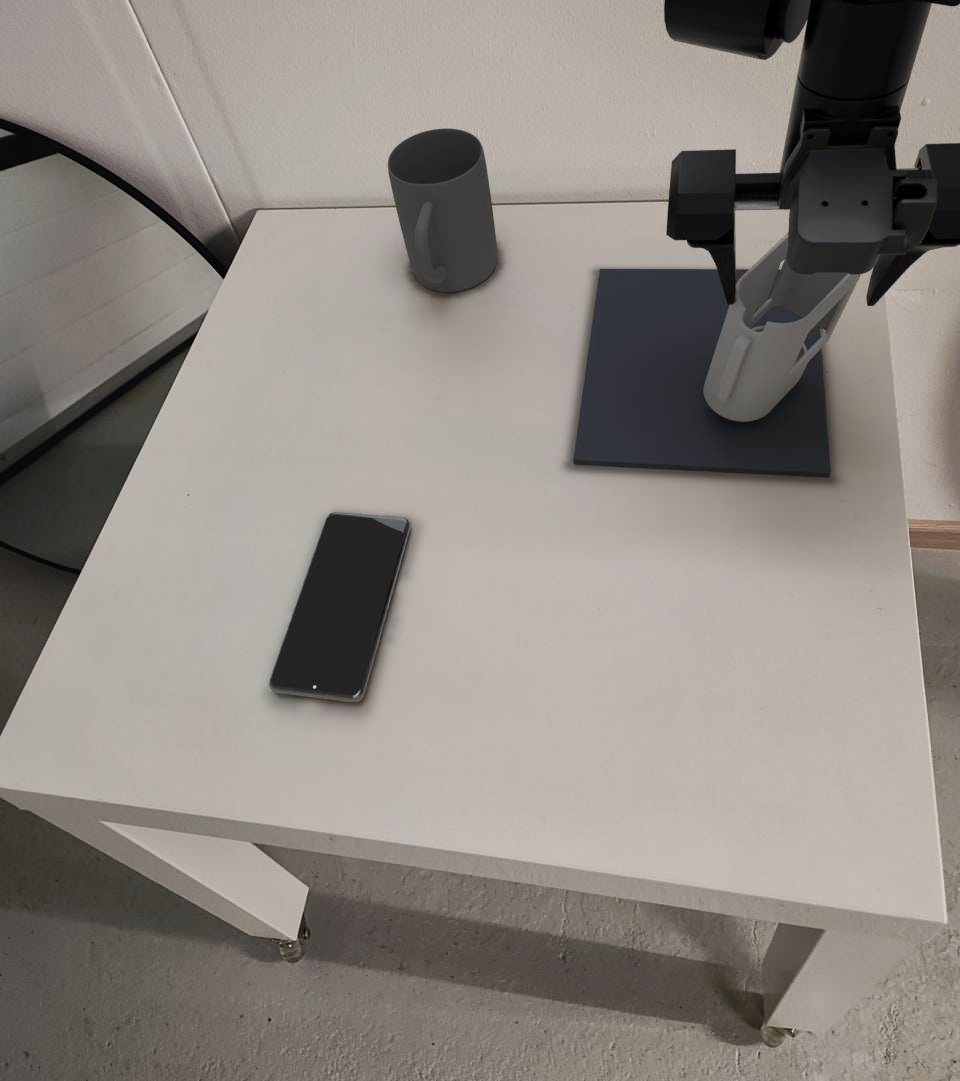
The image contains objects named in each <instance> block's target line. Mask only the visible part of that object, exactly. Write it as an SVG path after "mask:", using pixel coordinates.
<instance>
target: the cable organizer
mask: <svg viewBox="0 0 960 1081" xmlns="http://www.w3.org/2000/svg"><path fill="white" fill-rule="evenodd" d="M787 250H788V232H787V233H786V234H785V235H784V236H783V237H782V238H780V240H779V241H777V242H776V243H775V244H774V245H773V246H772V247H770V249H769V250H768V251H766V253H765V254H764V255H763V256H761V257H760V258H759V259H758V261H756V262H755V263H754V264H752V266H751V267H750V268H749V270H748V271H747V272H746V273H745V274H744V275H743V276H742V277H741V278H740V279H739V280H738V282H737V284H736V293H735V298H734V304H733V305H729V309H728V312H727V315H726V318H725V321H724V324H723V327H722V330H721V334H720V337H719V340H718V343H717V346H716V349H715V352H714V356H713V359H712V362H711V365H710V368H709V371H708V374H707V377H706V381H705V384H704V389H703V391H704V397H705V400H706V402H707V403H708V405H709V406H710V407H711V408H712V410H714V411H715V412H716V413H717V414H719V415H721V416H723V417H725V418H727V419H730V420H734V421H741V422H747V421H754V420H757V419H760V418H762V417H764V416H765V415H767V414H768V413H769V412H770V411H771V410H772V409H773V408H774V407H775V406H776V405H777V404H778V402H779V401H780V400H781V399H782V398H783V397H784V396H785V395H786V394H787V393H788V392H789V391H790V390H791V389H792V388H793V387H794V386H795V384H796V383H797V382H798V381H799V380H800V378H801V376H802V374H803V371H804V369H805V367H806V365H807V363H808V362H809V361H810V360H811V359H812V358H813V357H814V355H815V354H816V353H817V352H818V351H819V350H820V349H823V347H824V346H825V345H826V344H827V343H828V342H829V341H830V338H831V337H832V335H833V332H834V331H835V329H836V326H837V324H838V322H839V320H840V318H841V316H842V315H843V312H844V310H845V309H846V306H847V304H848V302H849V300H850V298H851V296H852V294H853V292H854V290H855V288H856V286H857V284H858V282H859V280H860V278H861V274H857V275H851V274H849V273H827V272H818V273H814V274H799V273H796V272H794V271H793V270H792V269H791V268H790V267H789V266H788V263H787ZM782 262H783V263H782ZM781 264H782V265H781ZM780 266H781V268H780ZM778 270H781V271H780V273H779V276H778V279H777V281H776V284H775V287H774V289H773V292H772V295H771V297H770V299H769V300H768V301H767V299H768V296H769V293H770V291H771V288H772V285H773V283H774V280H775V277H776V274H777V272H778ZM766 301H767V302H766ZM777 305H781V306H783V307H785V308H787V309H789V310H790V311H792V312H794V313H796V314H797V315H799V316H801V317H803V318H802V319H800V320H798V321H795V322H790V323H774V322H769V321H768V322H767V323H766V325H765V326H759V327H755V328H752V329H750V328H751V327H752V326H753V325H754V324H755V323H756V322H757V321H758V320H759V319H760V318H761V317H762V316H763V315H764V314H765V313H766V312H767V311H768V310H769V309H770V308H772V307H774V306H777ZM760 307H761V308H760ZM759 308H760V309H759ZM757 309H759V310H758V311H757V312H756V313H755V311H756V310H757ZM754 313H755V314H754ZM815 325H817V326H819V327H820V329H823V330H824V331H825V332H824V333H823V334H822V335H820V336H821V338H820V339H819V340H818V341H817V342H816V343H815V344H814V345H813V346H812V347H811V348H810V349H809V350H808V351H807V348H806V346H805V344H804V341H805V339H806V337H807V334H808V333H809V331H810V330H811V329H812V328H813V327H814V326H815Z"/></svg>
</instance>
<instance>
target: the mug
mask: <svg viewBox="0 0 960 1081" xmlns="http://www.w3.org/2000/svg"><path fill="white" fill-rule="evenodd" d="M387 172H388V178H389V183H390V187H391V192H392V197H393V200H394V205H395V209H396V213H397V218H398V220H399V221H398V222H399V226H400V230H401V234H402V238H403V242H404V246H405V250H406V253H407V257H408V260H409V264H410V267H411V271H412V274H413V275H414V277H415V279H416V280H417V282H419V284H421V285H422V286H423V287H424V288H426V289H429V290H431V291H434V292H438V293H439V292H440V293H456V292H463V291H466V290H469V289H472V288H474V287H476V286H478V285H480V284H482V283H483V282H485V281H486V280H487V279H488V278H489V277H490V276H491V275H492V274H493V272H494V271H495V269H496V266H497V263H498V243H497V234H496V226H495V219H494V218H495V217H494V210H493V201H492V195H491V188H490V181H489V175H488V174H489V173H488V167H487V162H486V155H485V150H484V148H483V144H482V143H481V140H480V139H479V138H478V137H477V136H476V135H474V134H472V133H470V132H469V131H466V130H462V129H458V128H445V127H444V128H435V129H430V130H425V131H420V132H419V133H416V134H413V135H411V136H409V137H407V138H406V139H404V140H403V141H401V142H400V143H398V144H397V145H396V146H395V147H394V148H393V149H392V151H391V152H390V153H389V156H388V159H387Z"/></svg>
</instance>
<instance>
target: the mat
mask: <svg viewBox="0 0 960 1081" xmlns="http://www.w3.org/2000/svg"><path fill="white" fill-rule="evenodd" d="M749 269H750V268H749ZM749 269H748V268H747V269H744V268H743V269H742V268H739V269H737V268H736V284H737V282H738V280H739V279H740V278H741V277H742V276H743V275H744V274H745V273H746V272H747V271H748V270H749ZM780 271H781V269H778V272H777V274H776V277H775V280H774V283H773V285H772V288H771V291H770V293H769V296H768V299H767V301H768V300H769V299H770V297H771V295H772V292H773V289H774V287H775V284H776V281H777V279H778V276H779V273H780ZM767 301H766V302H767ZM594 302H595V303H594V309H593V315H592V322H591V331H590V337H589V346H588V350H587V360H586V366H585V367H586V368H585V372H584V373H585V374H584V380H583V388H582V396H581V402H580V409H579V418H578V425H577V432H576V437H575V447H574V452H573V453H574V454H573V464H574V465H587V466H588V465H589V466H607V467H623V468H625V467H626V468H627V467H628V468H644V469H661V470H663V469H664V470H680V471H681V470H682V471H699V472H700V471H701V472H720V473H737V474H738V473H740V474H756V475H757V474H760V475H775V476H776V475H777V476H792V477H793V476H795V477H796V476H797V477H812V478H813V477H815V478H830V476H831V473H832V472H831V461H830V448H829V447H830V446H829V434H828V419H827V405H826V392H825V391H826V390H825V376H824V365H823V352H822V349H823V348H821V349H820V350H819V351H818V352H817V353H816V354H815V355H814V357H813V358H812V359H811V360H810V361H809V362H808V363H807V365H806V367H805V369H804V371H803V374H802V376H801V378H800V380H799V381H798V382H797V383H796V384H795V386H794V387H793V388H792V389H791V390H790V391H789V392H788V393H787V394H786V395H785V396H784V397H783V398H782V399H781V400H780V401H779V402H778V404H777V405H776V406H775V407H774V408H773V409H772V410H771V411H770V412H769V413H768V414H767V415H765V416H764V417H762V418H760V419H757V420H754V421H747V422H741V421H734V420H730V419H727V418H725V417H723V416H721V415H719V414H717V413H716V412H715V411H714V410H712V408H711V407H710V406H709V405H708V403H707V402H706V400H705V397H704V391H703V389H704V384H705V381H706V377H707V374H708V371H709V368H710V365H711V362H712V359H713V356H714V352H715V349H716V346H717V343H718V340H719V337H720V334H721V330H722V327H723V324H724V321H725V318H726V315H727V312H728V309H729V305H728V304H727V301H726V297H725V294H724V291H723V287H722V284H721V280H720V277H719V273H718V270H717V268H600V269H599V273H598V280H597V287H596V294H595V300H594ZM760 308H761V307H760ZM760 308H759V309H760ZM759 309H757V310H756V311H755V313H756V312H757V311H758V310H759ZM755 313H754V314H755ZM802 318H803V317H801V316H799V315H797V314H796V313H794V312H792V311H790V310H789V309H787V308H785V307H783V306H781V305H777V306H774V307H772V308H770V309H769V310H768V311H767V312H766V313H765V314H764V315H763V316H762V317H761V318H760V319H759V320H758V321H757V322H756V323H755V324H754V325H753V326H752V327H751V328H750V329H752V328H755V327H759V326H765V325H766V323H767V322H768V321H769V322H774V323H790V322H795V321H798V320H800V319H802ZM821 336H822V335H821V328H820V327H819V326H817V325H815V326H814V327H813V328H812V329H811V330H810V331H809V333H808V334H807V337H806V339H805V341H804V344H805V346H806V348H807V351H808V350H809V349H810V348H811V347H812V346H813V345H814V344H815V343H816V342H817V341H818V340H819V339H820V338H821Z"/></svg>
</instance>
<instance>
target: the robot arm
mask: <svg viewBox="0 0 960 1081" xmlns="http://www.w3.org/2000/svg"><path fill="white" fill-rule="evenodd" d="M933 4H934V5H940V6H946V7H951V8H952V7H957V6H959V5H960V0H664V3H663V17H664V18H663V20H664V26H665V30H666V32H667V35H668V37H669V38H670V39H671V40H672V41H674V42H678V43H683V44H688V45H692V46H697V47H701V48H705V49H710V50H716V51H720V52H725V53H727V54H728V53H729V54H734V55H739V56H743V57H747V58H752V59H757V60H761V61H766V60H768V59H770V58H772V57H773V56H774V55H775V54H776V53H777V51H778V50H779V49H780V47H782V44H784V43H786V44H791V43H793V42H794V41H796V39H797V38H798V37H799V35H800V34H801V32H802V31H803V30H804V27H805V31H804V35H803V42H802V47H801V53H800V58H799V64H798V69H797V70H798V71H797V75H796V80H795V85H794V92H793V96H792V101H791V107H790V112H789V119H788V124H787V128H786V135H785V140H784V146H783V152H782V155H781V156H782V157H781V162H780V167H779V172H753V173H752V172H749V173H736V172H737V169H736V168H737V148H736V149H700V150H695V149H694V150H681V151H680V152H679V153H678V154H677V155H676V156H675V157H674V158H673V159H672V161H671V166H670V178H669V179H670V180H669V189H668V202H667V216H666V232H665V233H666V234H665V235H666V236H667V237H669V238H671V239H672V240H673V241H686V244H687V245H688V246H689V247H690V248H692V249H704V250H706V251H707V252H708V253H709V255H710V256H711V258H712V260H713V263H714V264H715V267H716V269H717V270H718V273H719V277H720V280H721V284H722V287H723V291H724V294H725V297H726V301H727V304H728V305H733V304H734V298H735V293H736V269H737V250H736V249H737V248H736V247H737V244H736V242H737V241H736V234H737V233H736V211H783V210H784V211H788V210H789V212H788V232H787V233H788V250H787V263H788V266H789V267H790V268H791V269H792V270H793V271H794V272H796V273H799V274H814V273H818V272H827V273H849V274H851V275H857V274H860V275H864V274H867V273H868V272H871V273H870V276H869V277H870V278H869V283H868V286H867V291H866V295H865V296H866V298H865V300H866V306H867V307H874V306H875V305H876V304H877V303H878V302H879V301H880V300H881V299H882V298H883V296H885V294H887V292H888V291H889V290H890V289H891V288H892V287H893V286H894V285H895V284H896V282H898V280H900V278H901V277H902V276H903V274H904V273H905V272H907V270H908V269H909V268H910V267H911V266H912V265H914V263H915V262H917V261H918V260H919V259H921V257H923V256H924V255H925V254H927V252H930V251H933V250H938V249H943V248H957V247H959V246H960V142H947V143H945V142H944V143H925V144H924V145H923V146H922V147H920V149H919V150H918V153H917V156H916V159H915V163H914V165H913V167H909V168H908V167H904V168H903V167H901V168H897V159H896V157H897V156H896V142H897V139H898V135H899V127H900V124H901V121H902V114H901V111H902V106H903V103H904V99H905V96H906V92H907V89H908V86H909V82H910V80H911V77H912V76H911V75H912V72H913V68H914V65H915V61H916V59H917V56H918V52H919V48H920V45H921V42H922V38H923V35H924V31H925V28H926V25H927V21H928V18H929V15H930V12H931V8H932V5H933Z"/></svg>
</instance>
